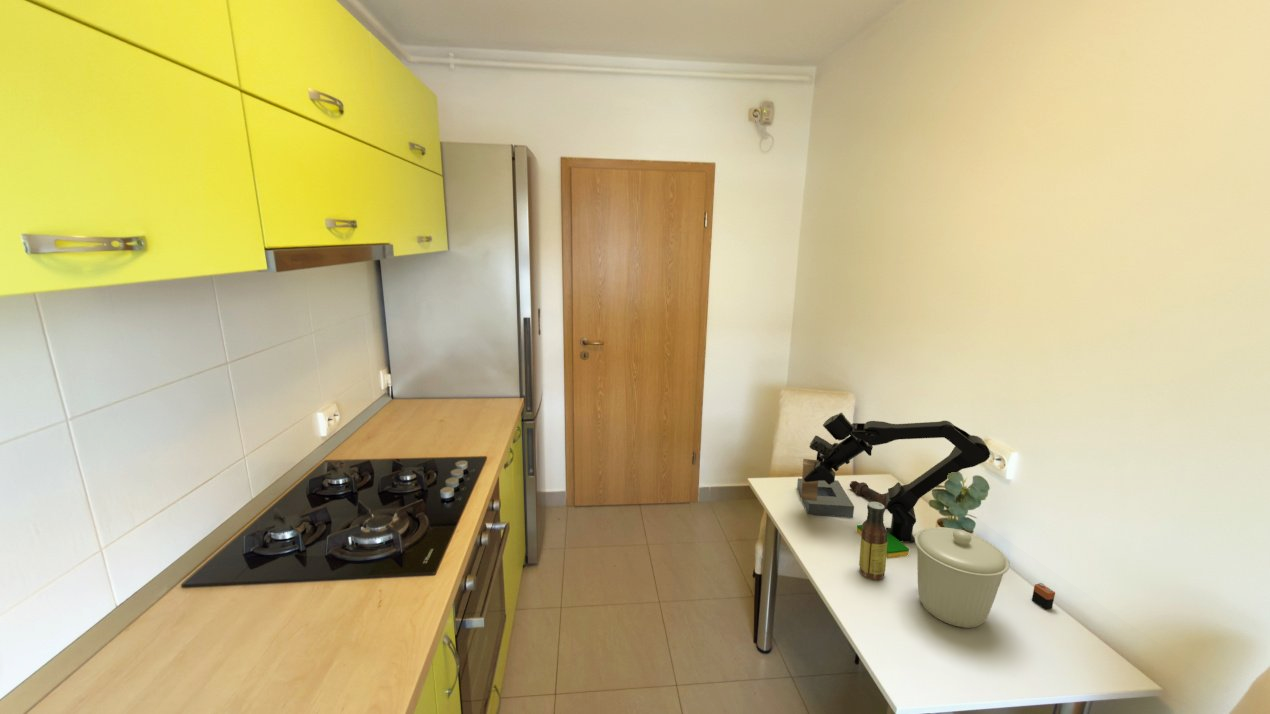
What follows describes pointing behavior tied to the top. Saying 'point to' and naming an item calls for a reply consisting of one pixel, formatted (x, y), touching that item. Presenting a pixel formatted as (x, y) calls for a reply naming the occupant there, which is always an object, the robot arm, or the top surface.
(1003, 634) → the top surface
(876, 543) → the sauce bottle
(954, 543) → the canister
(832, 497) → the hole plate
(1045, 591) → the battery
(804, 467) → the walnut block
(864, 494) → the bolt
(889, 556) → the dish sponge
